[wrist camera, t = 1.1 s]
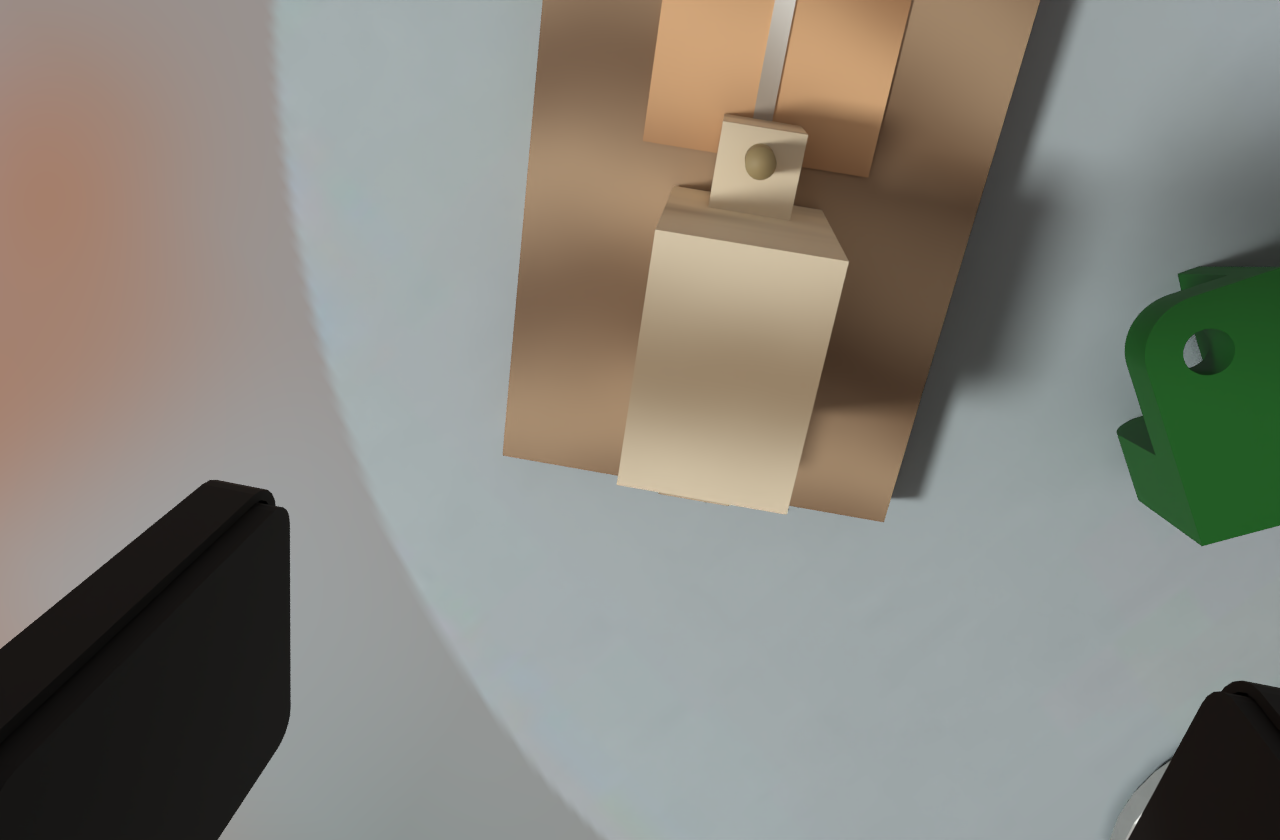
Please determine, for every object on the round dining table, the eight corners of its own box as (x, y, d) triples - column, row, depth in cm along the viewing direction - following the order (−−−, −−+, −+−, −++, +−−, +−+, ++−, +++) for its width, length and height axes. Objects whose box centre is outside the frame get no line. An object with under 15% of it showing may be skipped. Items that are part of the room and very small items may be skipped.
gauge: (762, 473, 26) (769, 585, 21) (632, 450, 27) (605, 556, 21) (839, 131, 22) (873, 161, 17) (686, 107, 23) (670, 128, 17)
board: (876, 498, 28) (884, 524, 27) (513, 435, 29) (501, 457, 27) (1127, -362, 19) (1161, -396, 18) (594, -436, 20) (583, -476, 18)
